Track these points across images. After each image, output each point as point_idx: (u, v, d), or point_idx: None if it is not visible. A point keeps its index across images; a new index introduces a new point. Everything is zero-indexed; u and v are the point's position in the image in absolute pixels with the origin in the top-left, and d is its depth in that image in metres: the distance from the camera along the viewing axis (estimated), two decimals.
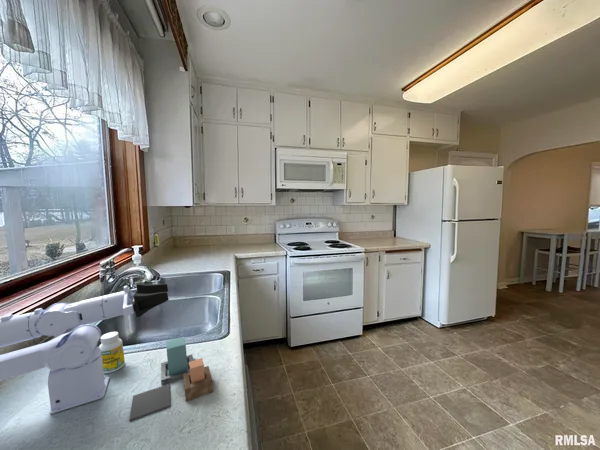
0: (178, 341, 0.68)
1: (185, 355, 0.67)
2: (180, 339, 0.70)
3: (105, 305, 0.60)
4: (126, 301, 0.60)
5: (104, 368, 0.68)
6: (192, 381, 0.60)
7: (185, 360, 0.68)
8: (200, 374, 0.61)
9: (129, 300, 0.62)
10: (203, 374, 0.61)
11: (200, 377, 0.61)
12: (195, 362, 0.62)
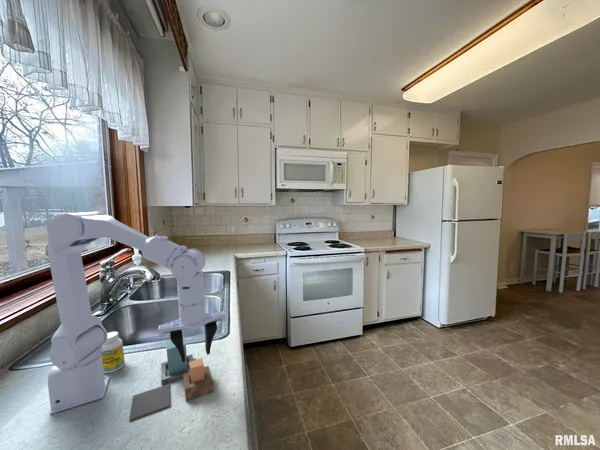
0: None
1: (185, 355, 0.67)
2: None
3: (180, 307, 0.58)
4: (171, 329, 0.57)
5: (104, 368, 0.68)
6: (192, 381, 0.60)
7: (185, 360, 0.68)
8: (200, 374, 0.61)
9: None
10: (203, 374, 0.61)
11: (200, 377, 0.61)
12: (195, 362, 0.62)
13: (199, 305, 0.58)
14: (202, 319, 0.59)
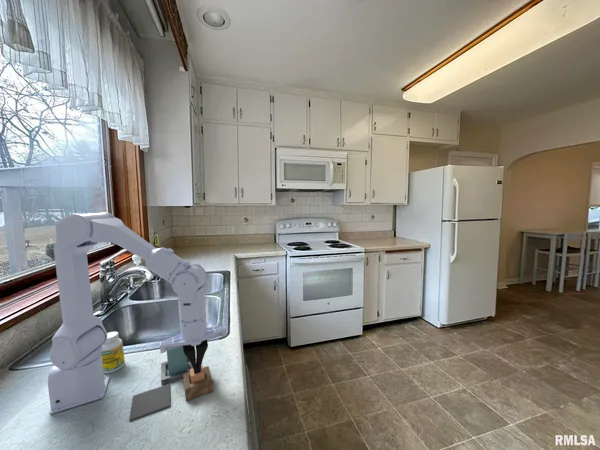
0: None
1: (185, 355, 0.67)
2: None
3: (181, 323, 0.58)
4: (173, 345, 0.57)
5: (104, 368, 0.68)
6: None
7: (185, 360, 0.68)
8: None
9: None
10: None
11: None
12: None
13: (200, 321, 0.59)
14: (204, 335, 0.60)
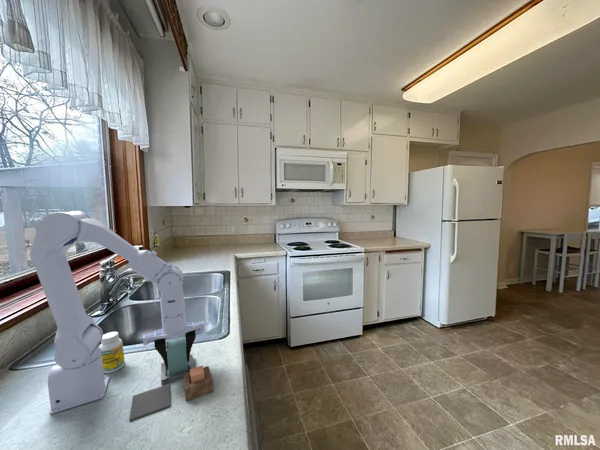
0: (178, 341, 0.68)
1: (185, 355, 0.67)
2: (180, 339, 0.70)
3: (162, 319, 0.65)
4: (154, 338, 0.64)
5: (104, 368, 0.68)
6: None
7: (185, 360, 0.68)
8: None
9: None
10: None
11: None
12: (196, 369, 0.62)
13: (179, 317, 0.66)
14: (183, 329, 0.67)
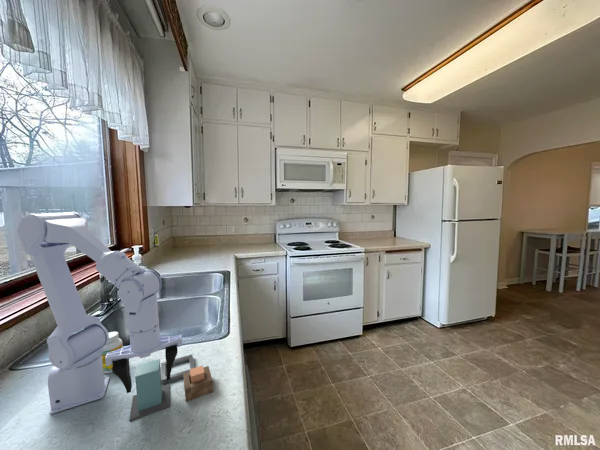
0: (150, 366, 0.58)
1: (158, 383, 0.57)
2: (154, 362, 0.59)
3: (130, 334, 0.54)
4: (120, 357, 0.53)
5: (104, 368, 0.68)
6: None
7: (158, 388, 0.57)
8: None
9: None
10: None
11: None
12: (196, 369, 0.62)
13: (151, 331, 0.55)
14: (155, 346, 0.56)
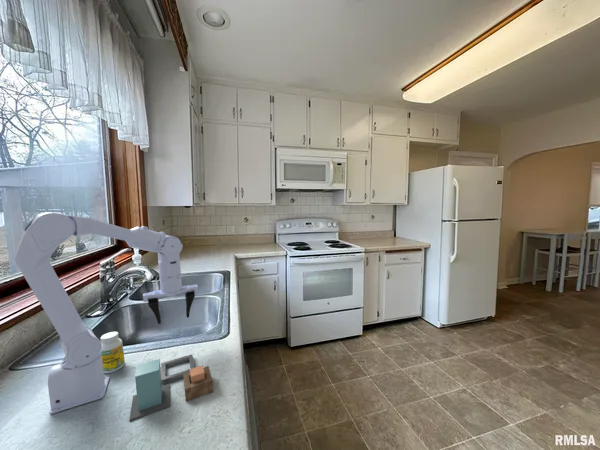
0: (150, 366, 0.58)
1: (158, 383, 0.57)
2: (154, 362, 0.59)
3: (160, 279, 0.73)
4: (153, 296, 0.72)
5: (104, 368, 0.68)
6: None
7: (158, 388, 0.57)
8: None
9: None
10: None
11: None
12: (196, 369, 0.62)
13: (175, 278, 0.74)
14: (178, 289, 0.75)
